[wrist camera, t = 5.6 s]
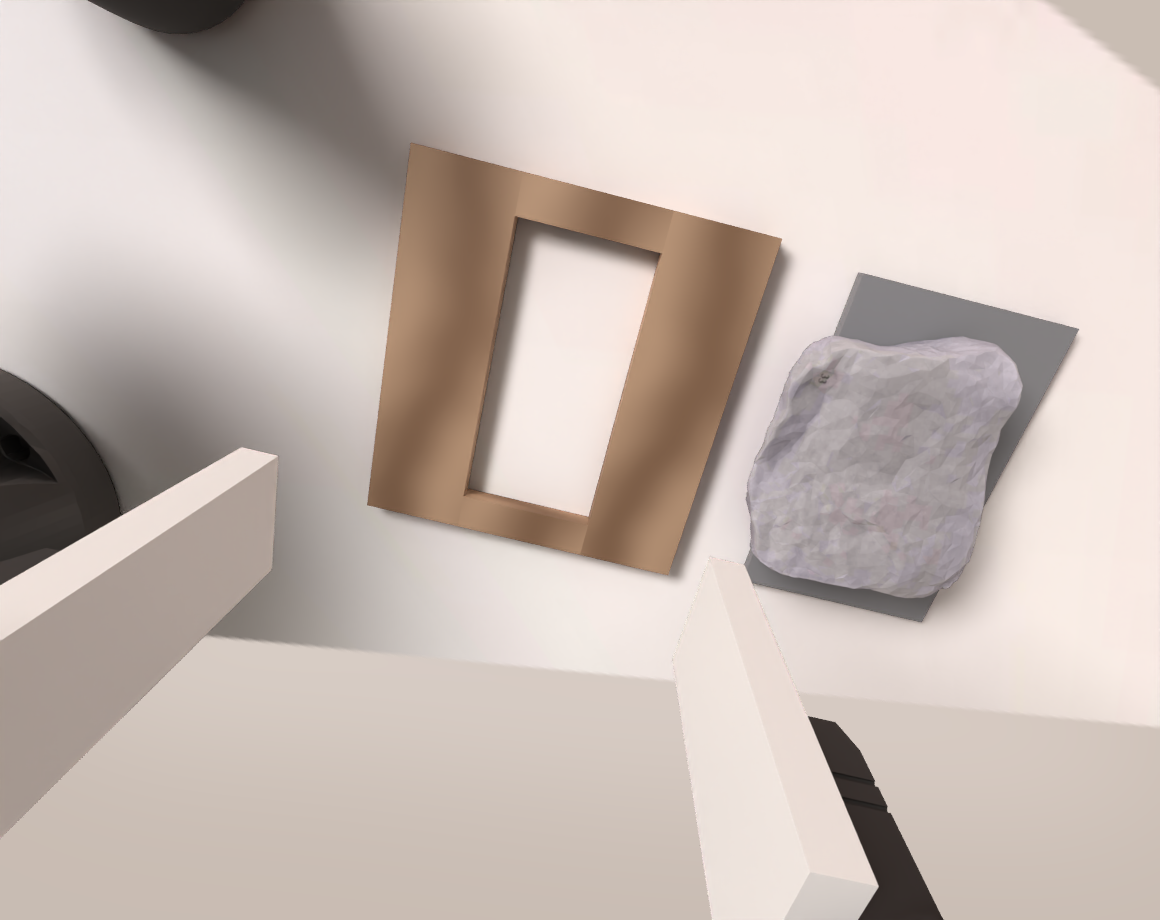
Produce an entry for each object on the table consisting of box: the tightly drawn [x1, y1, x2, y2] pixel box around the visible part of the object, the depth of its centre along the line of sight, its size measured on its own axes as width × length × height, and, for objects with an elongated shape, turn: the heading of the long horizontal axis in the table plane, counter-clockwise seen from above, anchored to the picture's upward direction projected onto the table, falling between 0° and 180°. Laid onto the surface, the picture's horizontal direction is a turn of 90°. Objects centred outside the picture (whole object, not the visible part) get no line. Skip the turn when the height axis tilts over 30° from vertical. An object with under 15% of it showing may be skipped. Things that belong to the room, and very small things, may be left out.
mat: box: [744, 273, 1079, 622], centre depth 29 cm, size 10×16×1 cm, turn 166°
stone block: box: [746, 336, 1023, 598], centre depth 27 cm, size 12×5×10 cm
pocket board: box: [367, 143, 782, 575], centre depth 28 cm, size 16×17×1 cm
